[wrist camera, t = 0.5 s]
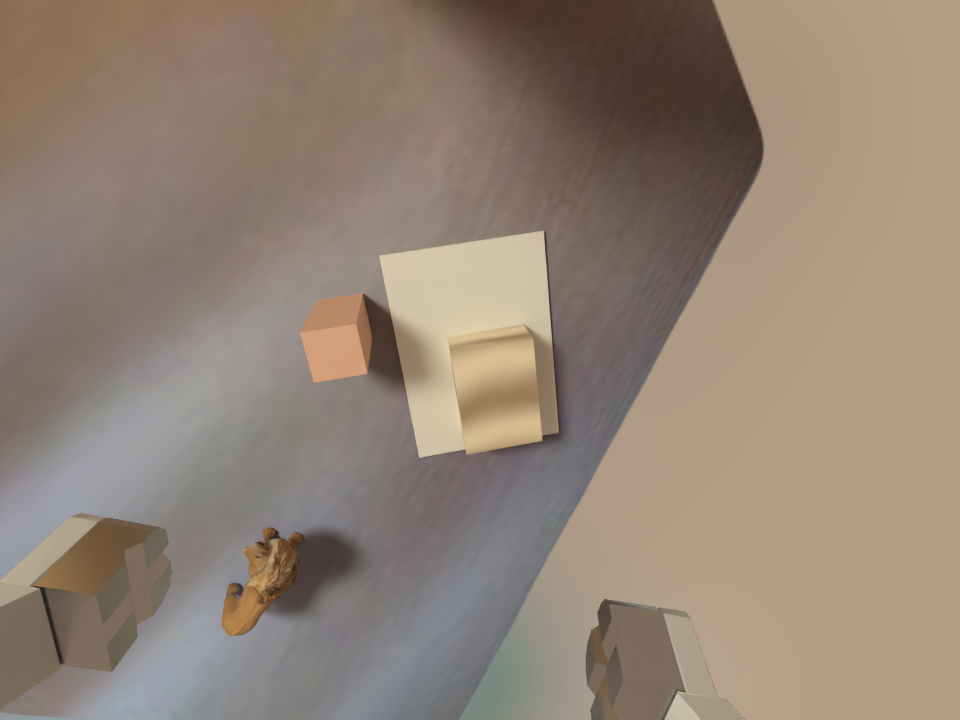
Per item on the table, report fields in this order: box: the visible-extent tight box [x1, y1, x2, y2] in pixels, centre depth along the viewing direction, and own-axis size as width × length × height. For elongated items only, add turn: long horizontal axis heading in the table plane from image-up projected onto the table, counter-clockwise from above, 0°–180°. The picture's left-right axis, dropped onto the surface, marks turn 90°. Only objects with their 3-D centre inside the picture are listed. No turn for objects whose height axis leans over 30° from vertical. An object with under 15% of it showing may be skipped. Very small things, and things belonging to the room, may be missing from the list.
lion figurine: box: [222, 528, 302, 636], centre depth 52 cm, size 15×5×9 cm, turn 154°
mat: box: [379, 231, 559, 458], centre depth 50 cm, size 20×14×1 cm
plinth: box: [447, 324, 542, 454], centre depth 49 cm, size 10×7×4 cm
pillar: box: [300, 293, 372, 383], centre depth 44 cm, size 4×4×8 cm
